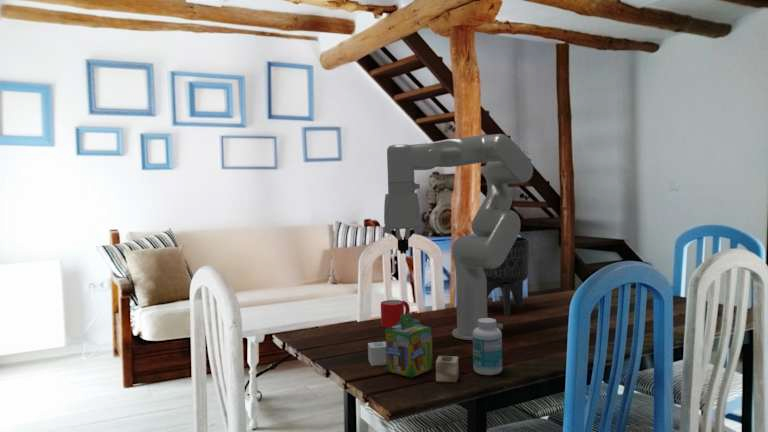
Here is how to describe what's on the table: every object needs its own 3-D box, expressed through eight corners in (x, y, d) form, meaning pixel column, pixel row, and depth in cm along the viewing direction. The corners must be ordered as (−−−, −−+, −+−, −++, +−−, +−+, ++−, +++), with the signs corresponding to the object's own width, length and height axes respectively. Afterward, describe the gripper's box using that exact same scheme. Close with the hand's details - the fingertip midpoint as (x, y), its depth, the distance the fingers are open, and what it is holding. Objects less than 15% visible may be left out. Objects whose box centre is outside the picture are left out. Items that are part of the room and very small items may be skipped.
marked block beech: (458, 375, 152) (458, 355, 152) (456, 382, 147) (455, 362, 147) (439, 374, 153) (438, 354, 153) (436, 381, 149) (435, 361, 148)
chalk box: (412, 379, 151) (410, 321, 150) (385, 371, 157) (383, 316, 156) (434, 369, 157) (433, 314, 156) (407, 362, 164) (406, 309, 163)
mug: (417, 322, 207) (416, 299, 207) (393, 329, 199) (392, 305, 198) (400, 318, 213) (399, 296, 212) (376, 325, 204) (375, 302, 204)
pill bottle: (470, 367, 158) (469, 317, 157) (497, 365, 159) (496, 315, 158) (477, 377, 151) (476, 324, 150) (505, 375, 151) (505, 322, 150)
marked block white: (385, 358, 168) (385, 340, 167) (389, 364, 163) (389, 345, 163) (368, 360, 167) (367, 342, 166) (371, 366, 162) (370, 347, 162)
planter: (536, 315, 211) (535, 241, 209) (480, 317, 211) (478, 243, 209) (523, 303, 231) (522, 235, 229) (472, 304, 231) (471, 237, 229)
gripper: (426, 187, 173) (428, 250, 174) (374, 189, 172) (376, 252, 173) (429, 188, 165) (430, 254, 166) (375, 189, 165) (377, 255, 166)
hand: (403, 253), depth 170 cm, fingers closed
